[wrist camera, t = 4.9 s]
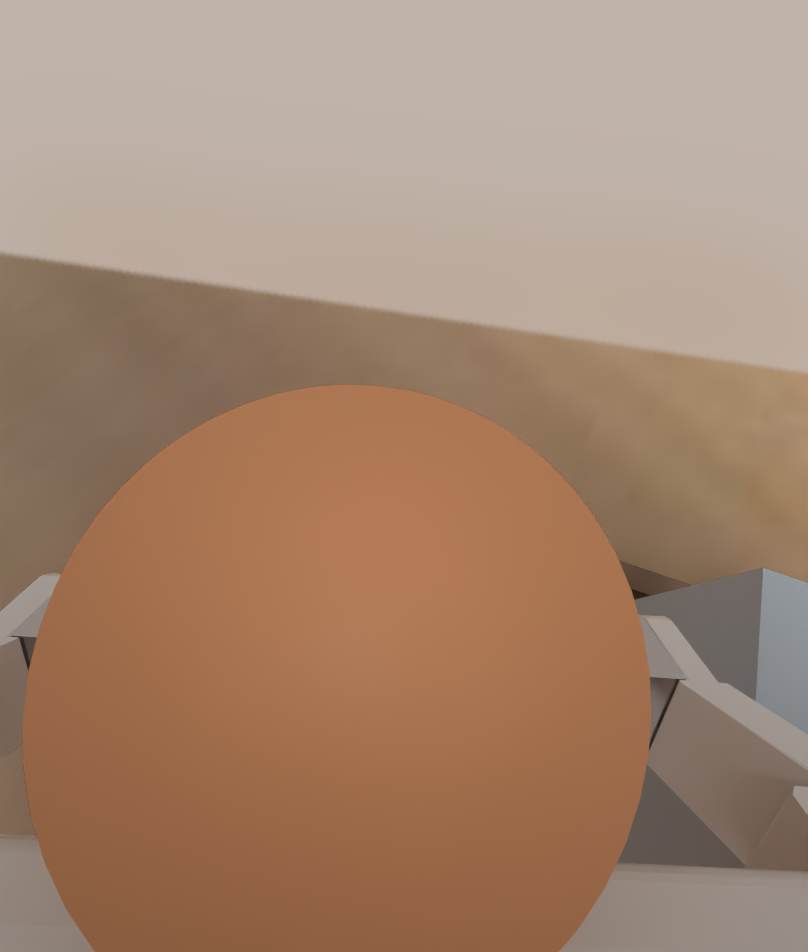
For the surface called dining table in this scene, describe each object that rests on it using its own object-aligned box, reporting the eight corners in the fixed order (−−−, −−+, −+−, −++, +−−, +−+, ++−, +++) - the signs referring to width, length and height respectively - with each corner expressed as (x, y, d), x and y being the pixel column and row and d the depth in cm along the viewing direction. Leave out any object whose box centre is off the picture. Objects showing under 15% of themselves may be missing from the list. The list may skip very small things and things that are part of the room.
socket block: (540, 888, 14) (729, 1130, 7) (591, 610, 17) (763, 567, 10) (822, 994, 14) (1352, 1376, 6) (824, 690, 17) (1190, 710, 9)
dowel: (281, 705, 16) (-135, 899, 3) (328, 584, 17) (208, 322, 4) (401, 749, 15) (590, 1192, 2) (438, 623, 17) (684, 479, 4)
